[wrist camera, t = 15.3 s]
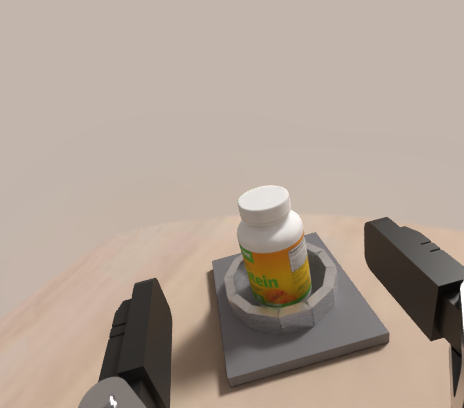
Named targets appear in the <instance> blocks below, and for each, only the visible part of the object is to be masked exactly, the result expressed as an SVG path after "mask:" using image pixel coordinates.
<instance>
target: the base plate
mask: <svg viewBox="0 0 464 408" xmlns="http://www.w3.org/2000/svg"><path fill="white" fill-rule="evenodd" d="M304 236H305V242H307V243H310V244H312V245H314V246H317V247H319V248H321V249H324V250H325V252H326V253H327V254H328V256H329V257H330V259H331V260H332V261H333V263H334V264H335V266H336V270H337V280H338V288H337V295H336V303H335V307H334V308H333V309H332V310H331V311H330V312H329V313H328V314H327V315H326V316H325V317H324V318H323V319H322V320H321V321H320V322H319V323H318V324H317V325H316V326H314V327H311V328H307V329H304V330H300V331H297V332H293V333H290V334H286V335H277V334H271V333H265V332H260V331H254V330H251V329H250V328H249V327H248V326H246V325H245V324H244V323H243V322H242V321H240V320H239V319H238V318H237V317H236V316H235V315H233V313H232V310H231V307H230V304H229V301H228V298H227V292H226V287H225V281H224V277H225V275H226V273H227V271H228V270H229V268H230V266H231V264H232V262H233V261H234V259H236V258H237V257H239V256H240V255H241V254H242V253H240V254H236V255H232V256H229V257H225V258H222V259H218V260H214V261H212V264H213V272H214V279H215V287H216V295H217V302H218V310H219V317H220V325H221V333H222V340H223V348H224V355H225V363H226V371H227V378H228V381H229V384H230V386H231V387H233V386H237V385H240V384H244V383H247V382H251V381H254V380H258V379H261V378H265V377H268V376H272V375H275V374H279V373H282V372H285V371H289V370H292V369H296V368H299V367H303V366H306V365H310V364H313V363H317V362H320V361H324V360H327V359H331V358H334V357H338V356H341V355H345V354H348V353H352V352H355V351H359V350H362V349H366V348H369V347H373V346H376V345H380V344H383V343H387V342H389V332H388V330H387V329H386V328H385V326H384V325H383V323H382V322H381V321H380V319H379V318H378V317H377V315H376V314H375V313H374V311H373V310H372V308H371V307H370V306H369V304H368V303H367V302H366V300H365V299H364V298H363V296H362V295H361V293H360V292H359V291H358V289H357V288H356V287H355V285H354V284H353V282H352V281H351V280H350V278H349V277H348V276H347V274H346V273H345V272H344V270H343V269H342V267H341V266H340V265H339V263H338V262H337V261H336V259H335V258H334V257H333V255H332V254H331V252H330V251H329V250H328V248H327V247H326V246H325V244H324V243H323V242H322V240H321V239H320V237H319V236H318V235H317V233H316V232H315V233H311V234H308V235H304ZM309 269H310V276H311V285H312V288H311V293H310V295H309V297H311V296H312V295H313V294H314V293H315V292H316V291H317V290H318V289H320V288H321V287H322V286H323V282H324V277H323V276H322V274H321V272H320V271H319V270H318V269H316V268H314V267H312V266H310V265H309ZM238 295H239V296H241V297H242V298H243V299H245V300H246V301H247V302H249V303H250V304H251V305H254V306H260V305H259V304H258V303H257V302H256V300H255V299H254V296H253V293H252V290H251V286H250V282H249V279H248V275H247V276H246V277H245V278H244V280H243V283H242V285H241V287H240V289H239V291H238ZM309 297H308V298H309ZM261 307H262V306H261Z"/></svg>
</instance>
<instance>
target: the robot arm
mask: <svg viewBox="0 0 464 408" xmlns="http://www.w3.org/2000/svg"><path fill="white" fill-rule="evenodd" d="M364 246H365V259H366V263H367V265H368V267H369V269H370V270H371V271H372V273H373V274H374V275H375V276H376V277H377V279H378V280H379V281H380V282H381V283H382V284H383V286H384V287H385V288H386V289H387V290H388V292H389V293H390V294H391V295H392V296H393V297H394V299H395V300H396V301H397V302H398V303H399V304H400V306H401V307H402V308H403V309H404V310H405V312H406V313H407V314H408V315H409V316H410V317H411V319H412V320H413V321H414V322H415V323H416V325H417V326H418V327H419V328H420V329H421V330H422V332H423V333H424V334H425V335H426V336H427V337H428V339H429V340H430V341H434V340H437V339H441V338H445V339H446V340H447V341H448V342H449V343H450V346H449V367H450V391H451V408H464V266H463V265H461V264H460V263H459V262H457V261H456V260H455V259H454V258H452V257H451V256H450V255H448V254H447V253H446V252H445V251H443V250H440V248H439V247H438V246H437V245H436V244H434V243H431V241H430V240H429V239H428V238H427V237H425V236H424V235H423V234H421V233H420V232H418V231H415V230H413V229H410V228H408V227H405V226H404V227H399V226H398V225H397V224H396V223H394V222H393V221H392V220H391V219H389V218H388V217H385V218H381V219H377V220H373V221H369V222H366V223H365V226H364ZM109 337H110V339H109V340H108V344H107V348H106V352H105V356H104V360H103V364H102V369H101V373H100V377H99V381H98V383H97V384H95V385H94V386H93V387H92V388H91V389H90V390H89V391H88V392H87V393H86V394H85V396H84V397H83V398H82V400H81V402H80V404H79V406H78V408H170V385H171V351H172V316H171V311H170V308H169V305H168V303H167V301H166V298H165V296H164V294H163V291H162V289H161V287H160V284H159V282H158V280H157V279H156V278H153V279H149V280H145V281H141V282H138V283H135V285H134V288H133V293H132V299H129V300H125V301H123V302H122V304H121V305H120V307H119V308H118V310H117V311H116V313H115V316H114V320H113V324H112V329H111V332H110V336H109Z"/></svg>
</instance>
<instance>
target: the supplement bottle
mask: <svg viewBox="0 0 464 408" xmlns="http://www.w3.org/2000/svg"><path fill="white" fill-rule="evenodd" d="M238 207H239V212H240V216H241V219H242V221H241V222H240V224H239V226H238V229H237V237H238V242H239V245H240V249H241V253H242V256H243V260H244V264H245V267H246V271H247V275H248V279H249V282H250V286H251V290H252V293H253V296H254V299H255V300H256V302H257V303H258V304H259V305H260V306H262V307H268V308H276V309H280V308H283V307H287V306H290V305H294V304H297V303H301V302H305V301H306V300H307V299H308V297H309V295H310V293H311V288H312V285H311V276H310V269H309V262H308V256H307V249H306V242H305V236H304V229H303V224H302V221H301V219H300V217H299V216H298V215H297V214H296V213H295V212H294V211H292V210H291V203H290V198H289V194H288V191H287V190H286V189H285V188H283V187H280V186H273V185H272V186H261V187H257V188H254V189H251V190H249V191H247V192H246V193H244V194H243V195H242V196H241V197H240V198H239V200H238Z"/></svg>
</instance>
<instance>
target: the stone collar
mask: <svg viewBox="0 0 464 408" xmlns="http://www.w3.org/2000/svg"><path fill="white" fill-rule="evenodd" d="M306 249H307V256H308V262H309V265H310V266H312V267H314V268H316V269H318V270H319V271H320V272H321V274H322V276H323V277H324V282H323V286H322V287H321V288H320V289H318V290H317V291H316V292H315V293H314V294H313V295H312V296H311V297H309V298H308V299H307V300H306V301H305V302H301V303H297V304H294V305H290V306H287V307H283V308H280V309H276V308H268V307H261V306H254V305H251V304H250V303H249V302H247V301H246V300H245V299H243V298H242V297H241V296H239V295H238V291H239V289H240V287H241V285H242V283H243V280H244V278H245V277H246V276H247V271H246V267H245V264H244V260H243V256H242V254H241V255H240V256H239V257H237V258H236V259H234V261H233V262H232V264H231V266H230V268H229V270H228V271H227V273H226V275H225V277H224V281H225V287H226V292H227V298H228V301H229V304H230V307H231V310H232V313H233V315H235V316H236V317H237V318H238V319H239V320H240V321H242V322H243V323H244V324H245V325H246V326H248V327H249V328H250V329H251V330H254V331H260V332H265V333H271V334H277V335H286V334H290V333H293V332H297V331H300V330H304V329H307V328H311V327H314V326H316V325H317V324H318V323H319V322H320V321H321V320H322V319H323V318H324V317H325V316H326V315H327V314H328V313H329V312H330V311H331V310H332V309H333V308H334V307H335V303H336V295H337V288H338V280H337V270H336V266H335V264H334V263H333V261H332V260H331V259H330V257H329V256H328V254H327V253H326V252H325V250H324V249H321V248H319V247H317V246H314V245H312V244H310V243H307V242H306Z"/></svg>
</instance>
